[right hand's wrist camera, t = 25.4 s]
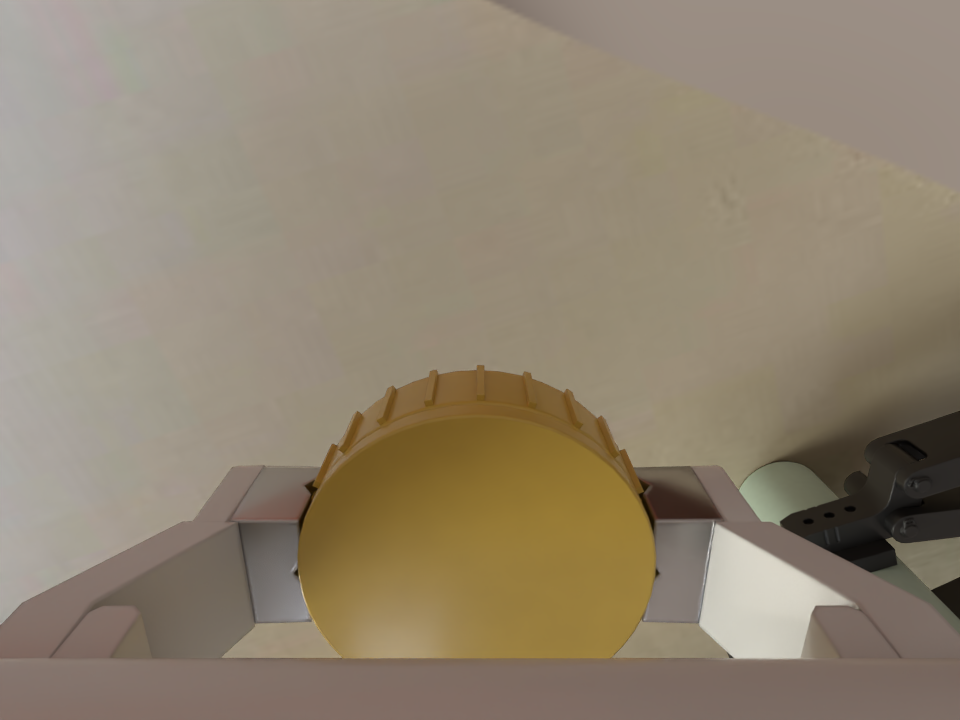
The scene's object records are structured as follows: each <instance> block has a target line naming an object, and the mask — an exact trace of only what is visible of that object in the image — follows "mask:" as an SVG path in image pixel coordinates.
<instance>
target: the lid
mask: <svg viewBox="0 0 960 720" xmlns="http://www.w3.org/2000/svg"><path fill="white" fill-rule="evenodd" d="M313 486H314V487H316V488H318V489H317V491H315V492H314V493H313V495H312V497H311V498H312V502H311V505H310V507H309V509H308V511H307V514H306V516H305V519H304V522H303V526H302V529H301V533H300V536H299V545H298V553H297V560H298V576H299V581H300V586H301V591H302V595H303V598H304V600H305V603H306V606H307V608H308V611H309V613H310V615H311V617H312V619H313V621H314V622H315V624H316V626H317V628H318V630H319V631H320V632H321V634H322V635H323V636H324V638H325V639H326V640H327V642H328V643H329V644H330V645H331V646H332V647H333V648H334V649H335V650H336V651H337V652H338V654H339V655H340V656H341V657H342V658H612V657H613V655H614V654H615V653H616V652H617V651H618V650H619V649H620V648H621V647H622V646H623V645H624V644H625V643H626V641H627V640H628V639H629V637H630V636H631V635H632V633H633V632H634V631H635V629H636V628H637V626H638V624H639V622H640V620H641V619H642V617H643V615H644V613H645V611H646V608H647V605H648V603H649V600H650V597H651V594H652V589H653V585H654V580H655V575H656V548H655V539H654V534H653V531H652V527H651V524H650V520H649V517H648V515H647V512H646V510H645V508H644V505H643V503H642V499H641V498H640V496H639V494H640V493H642V492H644V490H643V488H642V486H641V484H640V481H639V479H638V477H637V475H636V472H635V470H634V468H633V466H632V464H631V461H630V459H629V457H628V455H627V452H626V450H625V449H623V450H621V451H619V448H618V446H617V445H616V443H615V441H614V439H613V437H612V434H611V432H610V430H609V427H608V425H607V423H606V420H605V419H604V418H603V417H602V416H600V417H599V418H596V417H595V416H594V415H593V414H592V413H591V412H589V411H588V410H587V409H586V408H585V407H583V406H582V405H581V404H580V403H579V402H577V401H576V400H575V398H574V395H573V392H571V391H570V390H568V389H566V391H565V392H564V393H563V392H561V391H559V390H557V389H555V388H553V387H551V386H549V385H547V384H544V383H542V382H539V381H536V380H533V379H532V377H531V373H528V372H524V373H523V376H520V375H515V374H510V373H504V372H498V371H484V365H477V370H473V371H455V372H450V373H444V374H439V375H438V372H437V370H433V371H430V374H429V377H427V378H424V379H421V380H418V381H414V382H412V383H410V384H408V385H405V386H403V387H401V388H399V389H397V390H396V389H395V387H394V386H391V387H389V388H388V389H387V391H386V394H385V397H383V398H382V399H380V400H378V401H377V402H376V403H374V404H373V405H372V406H371V407H370V408H368V409H367V410H366V411H365V412H364V413H362V414H360V413H359V412H358V411H357V412H356V413H355V414H354V415H353V417H352V419H351V421H350V424H349V426H348V428H347V430H346V433H345V434H344V436H343V437H342V439H341V440H340V442H339V443H338V445H334V444H332V445H331V447H330V449H329V451H328V453H327V455H326V457H325V460H324V462H323V464H322V466H321V468H320V470H319V472H318V475H317V477H316V479H315V481H314V483H313Z"/></svg>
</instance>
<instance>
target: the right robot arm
mask: <svg viewBox="0 0 960 720" xmlns="http://www.w3.org/2000/svg"><path fill="white" fill-rule="evenodd" d="M320 468H321V467H295V466H267V467H266V466H264V465H262V466H236V467H232V468H231V469H230V471H229V472H228V474H227V475H226V476H225V478H224V479H223V480H222V482H221V483H220V484H219V486H218V487H217V489H216V490H215V491H214V493H213V494H212V495H211V497H210V498H209V499H208V501H207V502H206V504H205V505H204V506H203V508H202V509H201V510H200V512H199V513H198V514H197V516H196V517H195V518H194V520H193V521H192V522H181V523H179V524H177V525H175V526H173V527H171V528H169V529H167V530H165V531H163V532H161V533H159V534H157V535H155V536H153V537H151V538H149V539H147V540H145V541H143V542H141V543H139V544H137V545H136V546H134V547H132V548H130V549H128V550H126V551H124V552H122V553H120V554H118V555H116V556H114V557H112V558H110V559H108V560H106V561H104V562H102V563H100V564H98V565H96V566H94V567H92V568H90V569H88V570H86V571H84V572H82V573H80V574H78V575H76V576H74V577H72V578H70V579H68V580H66V581H64V582H62V583H61V584H59V585H57V586H55V587H53V588H51V589H49V590H47V591H45V592H43V593H41V594H39V595H37V596H35V597H33V598H31V599H29V600H27V601H25V602H23V603H22V604H21V605H20V606H19V607H18V608H17V609H16V610H15V611H14V612H13V613H12V614H11V615H10V616H9V617H8V618H7V619H6V620H5V621H4V622H3V623H2V624H1V625H0V720H960V634H959V633H958V632H957V631H956V630H955V629H954V628H953V627H952V626H951V625H950V623H949V622H948V621H947V620H946V619H945V618H944V617H943V616H942V615H941V614H940V613H939V612H938V611H937V610H936V609H935V608H934V606H933V605H932V604H930V603H928V602H927V601H925V600H923V599H921V598H919V597H917V596H915V595H913V594H911V593H909V592H907V591H905V590H903V589H901V588H899V587H897V586H895V585H893V584H891V583H890V582H888V581H886V580H884V579H882V578H880V577H878V576H876V575H874V574H872V573H870V572H868V571H866V570H864V569H862V568H860V567H858V566H856V565H854V564H853V563H851V562H849V561H847V560H845V559H843V558H841V557H839V556H837V555H835V554H833V553H831V552H829V551H827V550H825V549H823V548H821V547H819V546H817V545H815V544H814V543H812V542H810V541H808V540H806V539H804V538H802V537H800V536H798V535H796V534H794V533H792V532H790V531H788V530H786V529H784V528H782V527H780V526H778V525H777V524H775V523H773V522H761V520H760V519H759V518H758V516H757V515H756V514H755V512H754V511H753V509H752V508H751V507H750V505H749V504H748V502H747V501H746V500H745V498H744V497H743V496H742V494H741V493H740V491H739V490H738V489H737V487H736V486H735V485H734V483H733V482H732V480H731V479H730V478H729V476H728V475H727V474H726V472H725V471H724V469H723V468H722V467H720V466H717V465H711V466H678V467H637V468H634V470H635V472H636V475H637V477H638V479H639V481H640V484H641V486H642V488H643V490H644V492H642V493H640V494H639V496H640V498H641V499H642V503H643V505H644V508H645V510H646V512H647V515H648V517H649V520H650V524H651V527H652V531H653V534H654V539H655V548H656V575H655V580H654V585H653V589H652V594H651V597H650V600H649V603H648V605H647V608H646V611H645V613H644V615H643V617H642V620H643V622H669V623H699V626H700V627H701V628H702V629H703V630H704V631H705V632H706V633H707V634H708V635H709V636H710V637H712V638H713V639H714V640H715V641H716V642H717V643H718V644H719V645H720V646H721V647H722V648H724V649H725V650H726V651H727V652H728V653H729V654H730V655H731V656H732V657H733V658H221V657H222V656H223V655H224V654H225V653H226V652H227V651H228V650H229V649H231V648H232V647H233V646H234V645H235V644H236V643H237V642H238V641H239V640H240V639H242V638H243V637H244V636H245V635H246V634H247V633H248V632H249V631H250V630H252V629H253V628H254V627H255V623H284V622H311V621H312V617H311V615H310V613H309V611H308V608H307V606H306V603H305V600H304V598H303V595H302V591H301V586H300V581H299V576H298V560H297V553H298V545H299V536H300V533H301V529H302V526H303V522H304V519H305V516H306V514H307V511H308V509H309V507H310V505H311V502H312V498H311V497H312V495H313V493H314V492H315V491H317V489H318V488H316V487H314V486H313V483H314V481H315V479H316V477H317V475H318V472H319V470H320Z"/></svg>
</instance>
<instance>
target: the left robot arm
mask: <svg viewBox="0 0 960 720" xmlns="http://www.w3.org/2000/svg"><path fill="white" fill-rule="evenodd" d="M864 457H865V459H866V461H867V462H869V463H870V464H871V465H870V469H869V474H868V478H867V477H866V476H865V475H864V474H863V473H862V472H860V471H857V472H854V473H852V474H851V475H849V476H848V477H847V479H846V480H845V483H844V489H845V491H846V492H847V493H848V494H849V495H850V496H847V497H844V498H841V499H837V500H834V501H831V502H828V503H824V504H821V505H818V506H817V507H815V506H814V507H811V508H808V509H807V510H801V511H798V512H795V513H791V514H790V515H788V516H787V517H785V518H784V519H782V520H781V521H779V522H780V526H781V527H782V528H784V529H786V530H788V531H790V532H792V533H794V534H796V535H798V536H800V537H802V538H804V539H806V540H808V541H810V542H812V543H814V544H815V545H817V546H819V547H821V548H823V549H825V550H827V551H829V552H831V553H833V554H835V555H837V556H839V557H841V558H843V559H845V560H847V561H849V562H851V563H853V564H854V565H856V566H858V567H860V568H862V569H864V570H866V571H868V572H870V573H871V572H875V571H878V570H882V569H885V568H888V567H892V566H895V565H897V559H896V553H895V549H894V548H893V547H892V546H891V545H890V544H889V543H888V542H887V541H886V540H885V539H887V538H891V537H893V538H894V539H895V540H896V541H898V542H901V543H912V542H920V541H928V540H937V539H945V538H953V537H960V411H958V412H955V413H952V414H949V415H946V416H943V417H941V418H938V419H935V420H932V421H929V422H926V423H923V424H920V425H917V426H914V427H911V428H908V429H905V430H902V431H899V432H896V433H893V434H890V435H887V436H884V437H881V438H878V439H876V440H874V441H872V442H871V443H870V444H869V445H868V446H867V447H866V449H865V454H864ZM924 458H925V459H924ZM921 459H924V460H921ZM919 460H921V461H919ZM931 591H932V592H933V593H934V594H935V595H936V596H937V597H938V598H939V599H940V600H941V601H942V602H943V603H944V604H945V605H946V606H947V607H948V608H949V609H950V610H951V611H952V612H953V613H954V614H955V615H956V616H957V617H958V618H959V619H960V577H959V578H957V579H955V580H953V581H950V582H948V583H946V584H944V585H942V586H939V587H937V588H935V589H933V590H931ZM727 653H728V652H727ZM728 655H729V657H730V658H733V657H732V656H731V655H730V654H729V653H728Z"/></svg>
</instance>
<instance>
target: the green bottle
mask: <svg viewBox="0 0 960 720" xmlns="http://www.w3.org/2000/svg"><path fill="white" fill-rule="evenodd" d="M739 491H740V493H741V494H742V496H743V497H744V498H745V500H746V501H747V502H748V504H749V505H750V507H751V508H752V509H753V511H754V512H755V514H756V515H757V516H758V518H759V519H760V520H761V522H773V523H775V524H777V525H778V526H780V522H779V521H781V520H782V519H784V518H785V517H787V516H788V515H790V514H791V513H795V512H798V511H801V510H807V509H808V508H811V507H814V506H815V507H817V506H818V505H821V504H824V503H828V502H831V501H834V500H837V499H839V498H838V497H837V496H836V495H835V494H834V493H833V492H832V491H831V490H830V489H829V488H828V487H827V486H826V485H825V484H824V483H823V482H822V481H821V480H820V479H819V478H818V477H817V476H816V475H815V474H814V473H813V472H812V471H811V470H810V469H809V468H807V467H806V466H804V465H801V464H799V463H795V462H776V463H771V464H768V465H766V466H763V467H761V468H759V469H758V470H756V471H755V472H753V473H752V474H751V475H750V476H749V477H748V478H747V479H746V480H745V481H744V483H743V484H742V486H741V487H740V489H739ZM780 527H781V526H780ZM896 559H897V565H895V566H892V567H888V568H885V569H882V570H878V571H875V572H871V573H872V574H874V575H876V576H878V577H880V578H882V579H884V580H886V581H888V582H890V583H891V584H893V585H895V586H897V587H899V588H901V589H903V590H905V591H907V592H909V593H911V594H913V595H915V596H917V597H919V598H921V599H923V600H925V601H927V602H928V603H930V604H932V605H933V606H934V608H935V609H936V610H937V611H938V612H939V613H940V614H941V615H942V616H943V617H944V618H945V619H946V620H947V621H948V622H949V623H950V625H951V626H952V627H953V628H954V629H955V630H956V631H957V632H958V633H959V634H960V619H959V618H958V617H957V616H956V615H955V614H954V613H953V612H952V611H951V610H950V609H949V608H948V607H947V606H946V605H945V604H944V603H943V602H942V601H941V600H940V599H939V598H938V597H937V596H936V595H935V594H934V593H933V592H932V591H931V590H930V589H929V588H928V587H927V586H926V585H925V584H924V583H923V582H922V581H921V580H920V579H919V578H918V577H917V576H916V575H915V574H914V573H913V572H912V571H911V570H910V569H909V568H908V567H907V566H906V565H905V564H904V563H903V562H902V561H901V560H900V559H899V558H898V557H897V556H896Z"/></svg>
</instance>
